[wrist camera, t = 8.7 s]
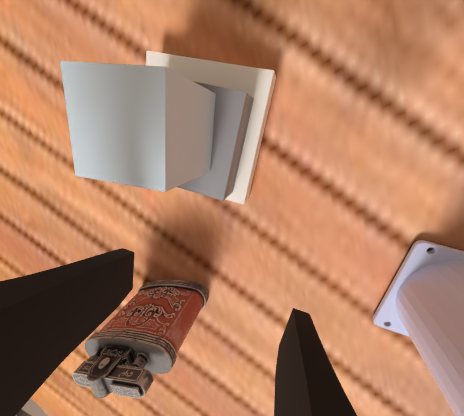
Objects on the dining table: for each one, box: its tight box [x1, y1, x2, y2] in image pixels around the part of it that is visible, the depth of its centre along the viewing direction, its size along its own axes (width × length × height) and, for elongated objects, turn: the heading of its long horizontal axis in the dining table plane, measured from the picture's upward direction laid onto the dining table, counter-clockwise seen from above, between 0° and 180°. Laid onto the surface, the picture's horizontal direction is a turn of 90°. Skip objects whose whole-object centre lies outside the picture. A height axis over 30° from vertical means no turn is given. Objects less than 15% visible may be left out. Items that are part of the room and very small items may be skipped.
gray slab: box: [177, 81, 254, 201], centre depth 15 cm, size 6×6×2 cm
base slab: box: [146, 51, 276, 204], centre depth 17 cm, size 9×9×2 cm
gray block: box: [60, 61, 216, 192], centre depth 11 cm, size 4×4×6 cm
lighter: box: [72, 280, 208, 398], centre depth 19 cm, size 8×3×10 cm, turn 101°
